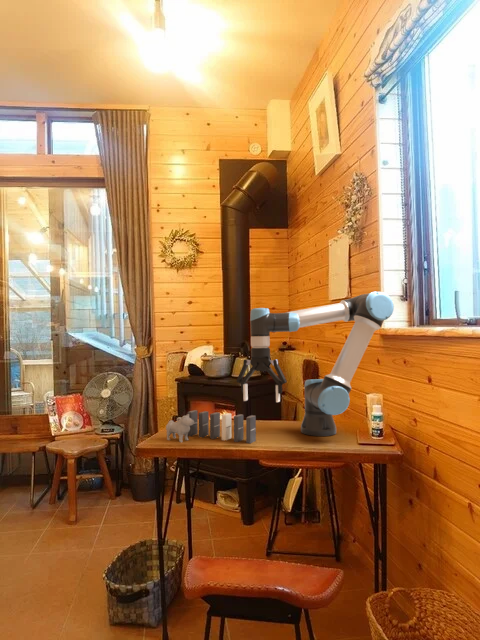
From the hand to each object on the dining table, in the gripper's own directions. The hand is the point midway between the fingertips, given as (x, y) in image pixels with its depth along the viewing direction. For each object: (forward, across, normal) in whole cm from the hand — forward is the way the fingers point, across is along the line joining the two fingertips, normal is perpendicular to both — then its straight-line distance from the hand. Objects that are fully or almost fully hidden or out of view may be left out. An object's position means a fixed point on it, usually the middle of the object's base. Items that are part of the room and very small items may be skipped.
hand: (261, 401), depth 177 cm
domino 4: (+16, +10, 0) cm, 19 cm away
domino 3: (+16, +21, -1) cm, 27 cm away
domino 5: (+16, +5, 0) cm, 17 cm away
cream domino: (+16, +16, 0) cm, 22 cm away
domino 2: (+16, +27, -1) cm, 31 cm away
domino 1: (+16, +32, -2) cm, 36 cm away
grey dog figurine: (+16, +32, +9) cm, 37 cm away
